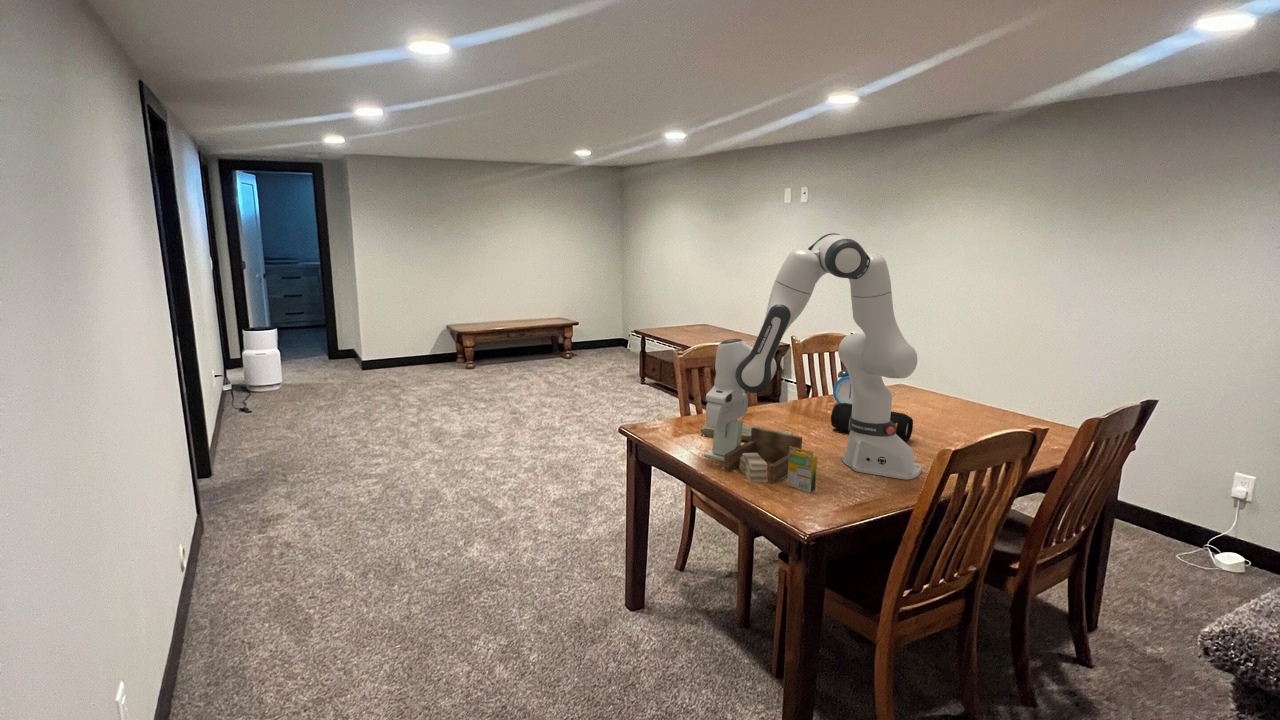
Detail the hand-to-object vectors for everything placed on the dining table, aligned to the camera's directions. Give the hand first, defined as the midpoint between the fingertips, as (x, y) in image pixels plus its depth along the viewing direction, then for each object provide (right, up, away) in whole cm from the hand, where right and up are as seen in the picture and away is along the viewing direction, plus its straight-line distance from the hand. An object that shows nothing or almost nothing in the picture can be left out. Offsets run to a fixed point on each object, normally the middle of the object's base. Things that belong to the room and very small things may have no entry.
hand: (726, 435), depth 206 cm
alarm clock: (+57, +4, +60) cm, 83 cm away
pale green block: (0, -6, 0) cm, 6 cm away
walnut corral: (+9, -9, -9) cm, 15 cm away
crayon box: (+18, -12, -22) cm, 31 cm away
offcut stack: (+6, -10, -13) cm, 17 cm away
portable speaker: (+53, -3, +25) cm, 58 cm away
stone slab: (+9, -4, +22) cm, 24 cm away
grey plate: (0, -7, +2) cm, 7 cm away
